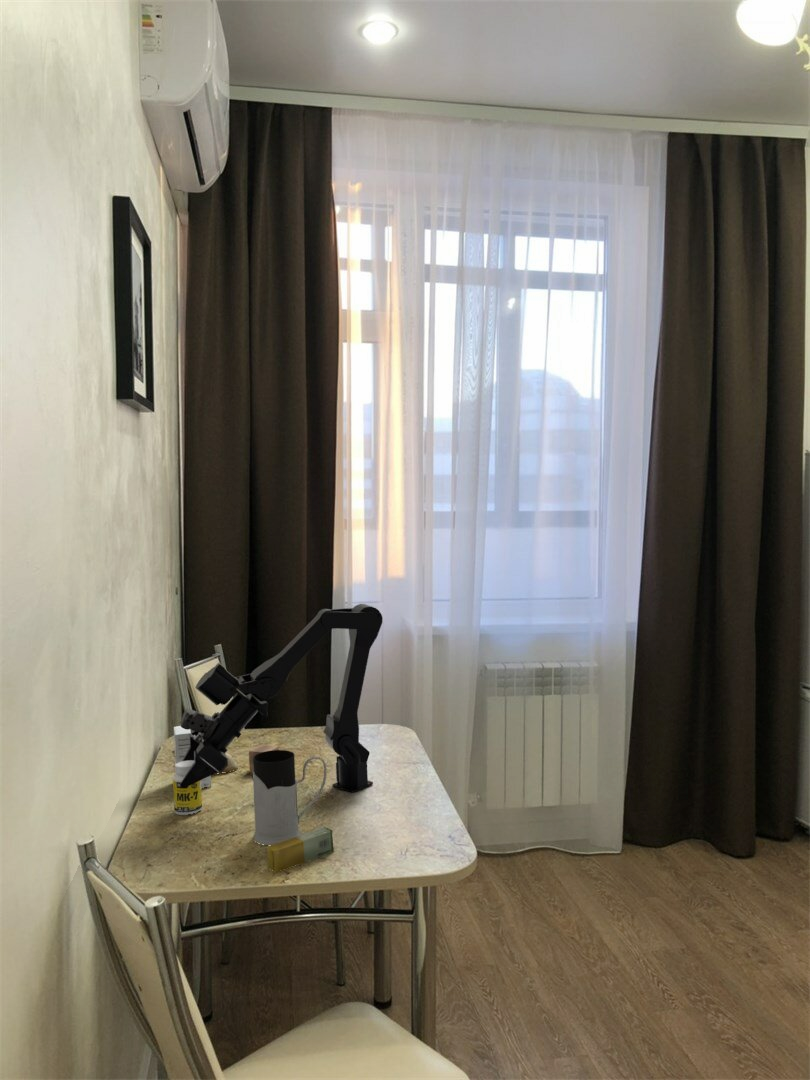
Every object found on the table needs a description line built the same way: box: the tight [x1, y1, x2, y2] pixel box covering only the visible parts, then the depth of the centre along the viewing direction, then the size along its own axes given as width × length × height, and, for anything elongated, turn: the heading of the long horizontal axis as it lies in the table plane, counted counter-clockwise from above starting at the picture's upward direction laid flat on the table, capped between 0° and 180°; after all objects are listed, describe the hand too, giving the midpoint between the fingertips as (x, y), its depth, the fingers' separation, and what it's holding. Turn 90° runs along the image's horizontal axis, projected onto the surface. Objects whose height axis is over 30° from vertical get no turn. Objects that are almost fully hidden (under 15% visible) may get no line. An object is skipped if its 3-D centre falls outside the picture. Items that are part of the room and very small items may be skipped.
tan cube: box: [248, 744, 280, 773], centre depth 190 cm, size 5×5×5 cm
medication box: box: [266, 826, 335, 873], centre depth 140 cm, size 12×3×4 cm, turn 130°
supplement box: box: [173, 725, 212, 789], centre depth 181 cm, size 7×7×13 cm
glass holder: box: [252, 749, 328, 846], centre depth 151 cm, size 9×14×15 cm, turn 111°
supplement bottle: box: [172, 760, 203, 816], centre depth 165 cm, size 6×6×10 cm
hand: (179, 779), depth 164 cm, fingers open, 9 cm apart
